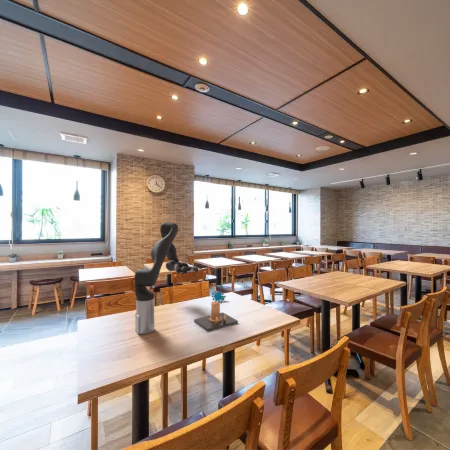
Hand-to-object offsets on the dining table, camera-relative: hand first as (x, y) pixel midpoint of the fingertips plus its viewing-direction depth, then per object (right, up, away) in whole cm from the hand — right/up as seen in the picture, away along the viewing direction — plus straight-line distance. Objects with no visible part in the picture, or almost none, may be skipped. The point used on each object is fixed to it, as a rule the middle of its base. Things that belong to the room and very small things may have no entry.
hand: (191, 271), depth 153 cm
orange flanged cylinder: (+16, -26, -12) cm, 33 cm away
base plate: (+16, -28, -12) cm, 34 cm away
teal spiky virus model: (+17, -28, +26) cm, 41 cm away
